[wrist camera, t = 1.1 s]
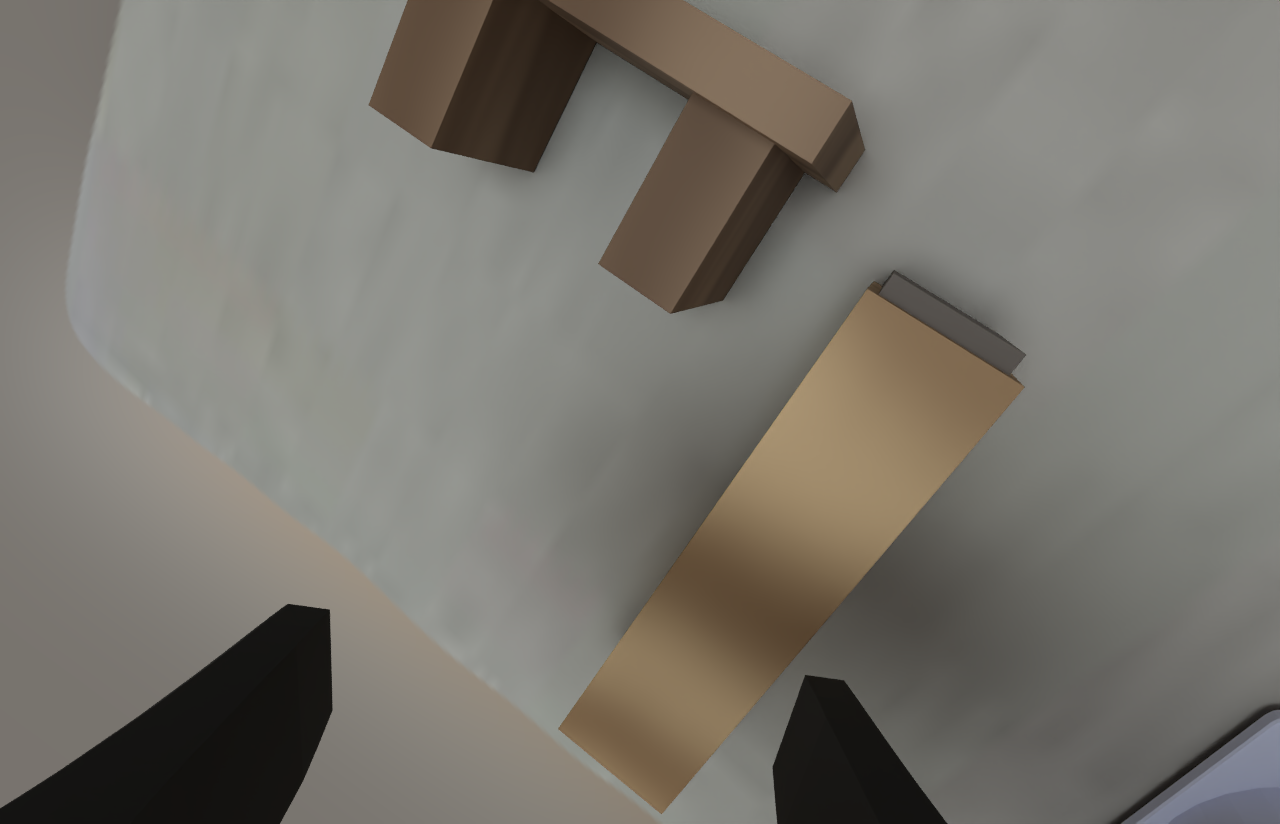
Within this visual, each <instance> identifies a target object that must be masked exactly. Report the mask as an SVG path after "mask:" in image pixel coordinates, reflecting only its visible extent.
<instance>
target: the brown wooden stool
mask: <svg viewBox="0 0 1280 824" xmlns="http://www.w3.org/2000/svg"><path fill="white" fill-rule="evenodd" d="M596 42H597V43H598V44H600V45H602V46H603V47H605V48H606V49H608V50H610V51H611V52H613V53H614V54H616V55H618V56H619V57H621V58H622V59H624V60H626V61H627V62H629V63H630V64H632V65H634V66H635V67H637V68H638V69H640V70H642V71H643V72H645V73H646V74H648V75H650V76H651V77H653V78H654V79H656V80H658V81H659V82H661V83H662V84H664V85H666V86H667V87H669V88H670V89H672V90H674V91H675V92H677V93H678V94H680V95H682V96H683V97H685V98H686V99H688V102H687V104H686V105H685V107H684V109H683V111H682V113H681V114H680V116H679V118H678V120H677V122H676V124H675V125H674V127H673V129H672V131H671V133H670V134H669V136H668V138H667V140H666V142H665V144H664V145H663V147H662V149H661V151H660V153H659V154H658V156H657V158H656V160H655V162H654V164H653V165H652V167H651V169H650V171H649V173H648V174H647V176H646V178H645V180H644V182H643V184H642V185H641V187H640V189H639V191H638V193H637V194H636V196H635V198H634V200H633V202H632V204H631V205H630V207H629V209H628V211H627V213H626V214H625V216H624V218H623V220H622V222H621V223H620V225H619V227H618V229H617V231H616V233H615V234H614V236H613V238H612V240H611V242H610V243H609V245H608V247H607V249H606V251H605V253H604V254H603V256H602V258H601V260H600V262H599V263H598V264H599V265H601V266H602V267H603V268H605V269H606V270H608V271H609V272H611V273H612V274H614V275H615V276H616V277H618V278H619V279H621V280H622V281H624V282H625V283H627V284H628V285H629V286H631V287H632V288H634V289H635V290H637V291H638V292H640V293H641V294H642V295H644V296H645V297H647V298H648V299H650V300H651V301H653V302H654V303H655V304H657V305H658V306H660V307H661V308H663V309H664V310H666V311H667V312H668V313H670V314H671V313H675V312H679V311H683V310H687V309H691V308H695V307H699V306H703V305H707V304H711V303H715V302H719V301H723V299H724V298H725V296H726V295H727V293H728V292H729V290H730V288H731V287H732V285H733V284H734V282H735V281H736V279H737V277H738V276H739V274H740V273H741V271H742V270H743V268H744V267H745V265H746V263H747V262H748V260H749V259H750V257H751V256H752V254H753V252H754V251H755V249H756V248H757V246H758V245H759V243H760V242H761V240H762V238H763V237H764V235H765V234H766V232H767V231H768V229H769V227H770V226H771V224H772V223H773V221H774V220H775V218H776V217H777V215H778V213H779V212H780V210H781V209H782V207H783V206H784V204H785V203H786V201H787V199H788V198H789V196H790V195H791V193H792V192H793V190H794V188H795V187H796V185H797V184H798V182H799V181H800V179H801V178H802V176H803V174H804V173H807V174H808V175H810V176H811V177H813V178H815V179H816V180H818V181H819V182H821V183H823V184H824V185H826V186H827V187H829V188H831V189H832V190H834V191H835V192H837V191H838V190H839V188H840V187H841V185H842V184H843V182H844V181H845V179H846V178H847V176H848V175H849V173H850V172H851V170H852V169H853V167H854V166H855V164H856V163H857V161H858V160H859V158H860V157H861V155H862V154H863V152H864V151H865V148H864V144H863V141H862V137H861V133H860V129H859V126H858V122H857V118H856V115H855V111H854V107H853V103H852V101H851V100H850V99H848V98H846V97H844V96H843V95H841V94H839V93H838V92H836V91H834V90H833V89H831V88H829V87H828V86H826V85H824V84H823V83H821V82H819V81H818V80H816V79H814V78H813V77H811V76H809V75H808V74H806V73H804V72H803V71H801V70H799V69H798V68H796V67H794V66H793V65H791V64H789V63H787V62H786V61H784V60H782V59H781V58H779V57H777V56H776V55H774V54H772V53H771V52H769V51H767V50H766V49H764V48H762V47H761V46H759V45H757V44H756V43H754V42H752V41H751V40H749V39H747V38H746V37H744V36H742V35H741V34H739V33H737V32H735V31H734V30H732V29H730V28H729V27H727V26H725V25H724V24H722V23H720V22H719V21H717V20H715V19H714V18H712V17H710V16H709V15H707V14H705V13H704V12H702V11H700V10H699V9H697V8H695V7H694V6H692V5H690V4H689V3H687V2H685V1H683V0H408V1H407V4H406V6H405V9H404V12H403V15H402V17H401V20H400V23H399V25H398V28H397V31H396V33H395V36H394V39H393V41H392V44H391V47H390V49H389V52H388V55H387V57H386V60H385V63H384V65H383V68H382V71H381V73H380V76H379V79H378V81H377V84H376V87H375V89H374V92H373V95H372V97H371V100H370V103H369V106H371V107H372V108H374V109H375V110H376V111H378V112H379V113H381V114H382V115H384V116H385V117H387V118H388V119H389V120H391V121H392V122H394V123H395V124H397V125H398V126H400V127H401V128H403V129H404V130H405V131H407V132H408V133H410V134H411V135H413V136H414V137H416V138H417V139H418V140H420V141H421V142H423V143H424V144H426V145H427V146H429V147H430V148H432V149H437V150H441V151H445V152H449V153H454V154H458V155H462V156H466V157H471V158H475V159H479V160H483V161H488V162H492V163H496V164H500V165H505V166H509V167H513V168H517V169H522V170H526V171H530V172H534V170H535V168H536V166H537V164H538V162H539V160H540V158H541V156H542V153H543V151H544V149H545V147H546V145H547V143H548V141H549V139H550V137H551V135H552V133H553V131H554V129H555V127H556V125H557V122H558V120H559V118H560V116H561V114H562V112H563V110H564V108H565V106H566V104H567V102H568V100H569V98H570V96H571V94H572V91H573V89H574V87H575V85H576V83H577V81H578V79H579V77H580V75H581V73H582V71H583V69H584V67H585V65H586V62H587V60H588V58H589V56H590V54H591V52H592V50H593V48H594V46H595V44H596Z"/></svg>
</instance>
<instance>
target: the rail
mask: <svg viewBox="0 0 1280 824" xmlns="http://www.w3.org/2000/svg"><path fill="white" fill-rule="evenodd" d="M1025 356H1026V354H1024V353H1023V352H1022V351H1020V350H1019V349H1018V348H1016V347H1015V346H1014V345H1012V344H1011V343H1010V342H1008V341H1007V340H1006V339H1004V338H1003V337H1002V336H1000V335H999V334H997V333H996V332H994V331H993V330H991V329H989V328H988V327H986V326H984V325H983V324H981V323H980V322H978V321H976V320H975V319H973V318H971V317H970V316H968V315H967V314H965V313H963V312H962V311H960V310H958V309H957V308H955V307H953V306H952V305H950V304H949V303H947V302H945V301H944V300H942V299H940V298H939V297H937V296H936V295H934V294H932V293H931V292H929V291H927V290H926V289H924V288H923V287H921V286H919V285H918V284H916V283H914V282H913V281H911V280H909V279H908V278H906V277H905V276H903V275H901V274H900V273H898V272H896V271H895V270H894V271H893V272H892V273H891V275H890V276H889V278H888V279H887V280H886V282H885V283H884V285H883V286H881V285H879V284H878V283H876V282H875V281H874V282H873V283H872V284H871V285H870V286H869V287H868V289H867V290H866V291H865V293H864V294H863V296H862V297H861V299H860V300H859V301H858V303H857V304H856V306H855V307H854V309H853V310H852V311H851V313H850V314H849V316H848V317H847V318H846V320H845V321H844V323H843V324H842V326H841V327H840V328H839V330H838V331H837V333H836V334H835V336H834V337H833V338H832V340H831V341H830V343H829V344H828V345H827V347H826V348H825V350H824V351H823V353H822V354H821V355H820V357H819V358H818V360H817V361H816V363H815V364H814V365H813V367H812V368H811V370H810V371H809V373H808V374H807V375H806V377H805V378H804V380H803V381H802V382H801V384H800V385H799V387H798V388H797V390H796V391H795V392H794V394H793V395H792V397H791V398H790V400H789V401H788V402H787V404H786V405H785V407H784V408H783V410H782V411H781V412H780V414H779V415H778V417H777V418H776V419H775V421H774V422H773V424H772V425H771V427H770V428H769V429H768V431H767V432H766V434H765V435H764V437H763V438H762V439H761V441H760V442H759V444H758V445H757V447H756V448H755V449H754V451H753V452H752V454H751V455H750V456H749V458H748V459H747V461H746V462H745V464H744V465H743V466H742V468H741V469H740V471H739V472H738V474H737V475H736V476H735V478H734V479H733V481H732V482H731V483H730V485H729V486H728V488H727V489H726V491H725V492H724V493H723V495H722V496H721V498H720V499H719V501H718V502H717V503H716V505H715V506H714V508H713V509H712V511H711V512H710V513H709V515H708V516H707V518H706V519H705V520H704V522H703V523H702V525H701V526H700V528H699V529H698V530H697V532H696V533H695V535H694V536H693V538H692V539H691V540H690V542H689V543H688V545H687V546H686V548H685V549H684V550H683V552H682V553H681V555H680V556H679V557H678V559H677V560H676V562H675V563H674V565H673V566H672V567H671V569H670V570H669V572H668V573H667V575H666V576H665V577H664V579H663V580H662V582H661V583H660V584H659V586H658V587H657V589H656V590H655V592H654V593H653V594H652V596H651V597H650V599H649V600H648V602H647V603H646V604H645V606H644V607H643V609H642V610H641V612H640V613H639V614H638V616H637V617H636V619H635V620H634V621H633V623H632V624H631V626H630V627H629V629H628V630H627V631H626V633H625V634H624V636H623V637H622V639H621V640H620V641H619V643H618V644H617V646H616V647H615V649H614V650H613V651H612V653H611V654H610V656H609V657H608V658H607V660H606V661H605V663H604V664H603V666H602V667H601V668H600V670H599V671H598V673H597V674H596V676H595V677H594V678H593V680H592V681H591V683H590V684H589V686H588V687H587V688H586V690H585V691H584V693H583V694H582V695H581V697H580V698H579V700H578V701H577V703H576V704H575V705H574V707H573V708H572V710H571V711H570V713H569V714H568V715H567V717H566V718H565V720H564V721H563V722H562V724H561V725H560V727H559V728H558V729H559V730H560V731H561V732H562V733H564V734H565V735H566V736H567V737H568V738H570V739H571V740H572V741H573V742H575V743H576V744H577V745H578V746H579V747H581V748H582V749H583V750H584V751H585V752H587V753H588V754H589V755H590V756H591V757H593V758H594V759H595V760H596V761H598V762H599V763H600V764H601V765H602V766H604V767H605V768H606V769H607V770H608V771H610V772H611V773H612V774H613V775H615V776H616V777H617V778H618V779H619V780H621V781H622V782H623V783H624V784H625V785H627V786H628V787H629V788H630V789H631V790H633V791H634V792H635V793H636V794H638V795H639V796H640V797H641V798H642V799H644V800H645V801H646V802H647V803H648V804H650V805H651V806H652V807H653V808H655V809H656V810H657V811H658V812H659V813H661V814H662V813H663V812H664V811H665V810H666V808H667V807H668V806H669V805H670V804H671V803H672V801H673V800H674V799H675V798H676V797H677V795H678V794H679V793H680V792H681V791H682V790H683V788H684V787H685V786H686V785H687V784H688V783H689V781H690V780H691V779H692V778H693V777H694V775H695V774H696V773H697V772H698V771H699V770H700V768H701V767H702V766H703V765H704V764H705V763H706V761H707V760H708V759H709V758H710V757H711V755H712V754H713V753H714V752H715V751H716V750H717V748H718V747H719V746H720V745H721V744H722V743H723V741H724V740H725V739H726V738H727V737H728V735H729V734H730V733H731V732H732V731H733V730H734V728H735V727H736V726H737V725H738V724H739V723H740V721H741V720H742V719H743V718H744V717H745V715H746V714H747V713H748V712H749V711H750V710H751V708H752V707H753V706H754V705H755V704H756V703H757V701H758V700H759V699H760V698H761V697H762V695H763V694H764V693H765V692H766V691H767V690H768V688H769V687H770V686H771V685H772V684H773V683H774V681H775V680H776V679H777V678H778V677H779V675H780V674H781V673H782V672H783V671H784V670H785V668H786V667H787V666H788V665H789V664H790V663H791V661H792V660H793V659H794V658H795V657H796V655H797V654H798V653H799V652H800V651H801V650H802V648H803V647H804V646H805V645H806V644H807V643H808V641H809V640H810V639H811V638H812V637H813V635H814V634H815V633H816V632H817V631H818V630H819V628H820V627H821V626H822V625H823V624H824V623H825V621H826V620H827V619H828V618H829V617H830V615H831V614H832V613H833V612H834V611H835V610H836V608H837V607H838V606H839V605H840V604H841V603H842V601H843V600H844V599H845V598H846V597H847V595H848V594H849V593H850V592H851V591H852V590H853V588H854V587H855V586H856V585H857V584H858V583H859V581H860V580H861V579H862V578H863V577H864V576H865V574H866V573H867V572H868V571H869V570H870V568H871V567H872V566H873V565H874V564H875V563H876V561H877V560H878V559H879V558H880V557H881V556H882V554H883V553H884V552H885V551H886V550H887V548H888V547H889V546H890V545H891V544H892V543H893V541H894V540H895V539H896V538H897V537H898V536H899V534H900V533H901V532H902V531H903V530H904V528H905V527H906V526H907V525H908V524H909V523H910V521H911V520H912V519H913V518H914V517H915V516H916V514H917V513H918V512H919V511H920V510H921V508H922V507H923V506H924V505H925V504H926V503H927V501H928V500H929V499H930V498H931V497H932V496H933V494H934V493H935V492H936V491H937V490H938V488H939V487H940V486H941V485H942V484H943V483H944V481H945V480H946V479H947V478H948V477H949V476H950V474H951V473H952V472H953V471H954V470H955V468H956V467H957V466H958V465H959V464H960V463H961V461H962V460H963V459H964V458H965V457H966V456H967V454H968V453H969V452H970V451H971V450H972V448H973V447H974V446H975V445H976V444H977V443H978V441H979V440H980V439H981V438H982V437H983V436H984V434H985V433H986V432H987V431H988V430H989V428H990V427H991V426H992V425H993V424H994V423H995V421H996V420H997V419H998V418H999V417H1000V416H1001V414H1002V413H1003V412H1004V411H1005V410H1006V408H1007V407H1008V406H1009V405H1010V404H1011V403H1012V401H1013V400H1014V399H1015V398H1016V397H1017V396H1018V394H1019V393H1020V392H1021V391H1022V390H1023V388H1024V386H1023V385H1022V384H1021V383H1020V382H1019V381H1018V380H1017V379H1016V378H1015V377H1014V376H1013V375H1012V374H1011V373H1012V371H1013V370H1014V369H1015V368H1016V367H1017V365H1018V364H1019V363H1020V362H1021V361H1022V359H1023V358H1024V357H1025Z"/></svg>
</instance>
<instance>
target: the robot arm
mask: <svg viewBox="0 0 1280 824" xmlns="http://www.w3.org/2000/svg"><path fill="white" fill-rule="evenodd" d="M331 713H332V674H331V638H330V610H328V609H321V608H313V607H307V606H299V605H292V604H287V605H286V606H284V607H283V608H281V609H280V610H279V611H277V612H276V613H275V614H273V615H272V616H271V617H269V618H268V619H267V620H266V621H264V622H263V623H262V624H260V625H259V626H258V627H256V628H255V629H254V630H253V631H251V632H250V633H249V634H247V635H246V636H245V637H244V638H242V639H241V640H240V641H238V642H237V643H236V644H235V645H233V646H232V647H231V648H229V649H228V650H227V651H225V652H224V653H223V654H222V655H220V656H219V657H218V658H216V659H215V660H214V661H212V662H211V663H210V664H209V665H207V666H206V667H205V668H203V669H202V670H201V671H199V672H198V673H197V674H195V675H194V676H193V677H192V678H190V679H189V680H187V681H186V682H185V683H183V684H182V685H180V686H179V687H178V688H176V689H175V690H174V691H172V692H171V693H170V694H168V695H167V696H166V697H164V698H163V699H162V700H160V701H159V702H157V703H156V704H155V705H153V706H152V707H151V708H149V709H148V710H147V711H145V712H144V713H142V714H141V715H140V716H138V717H137V718H136V719H134V720H133V721H131V722H130V723H128V724H127V725H126V726H124V727H123V728H121V729H120V730H118V731H117V732H115V733H114V734H112V735H111V736H109V737H108V738H106V739H105V740H104V741H102V742H101V743H99V744H98V745H96V746H95V747H93V748H92V749H90V750H89V751H88V752H86V753H85V754H83V755H82V756H80V757H79V758H77V759H76V760H75V761H73V762H71V763H70V764H69V765H67V766H66V767H64V768H63V769H61V770H60V771H58V772H57V773H55V774H54V775H52V776H50V777H49V778H47V779H46V780H44V781H43V782H41V783H40V784H38V785H36V786H35V787H33V788H32V789H30V790H29V791H27V792H26V793H24V794H22V795H21V796H19V797H18V798H16V799H14V800H13V801H11V802H10V803H8V804H7V805H5V806H3V807H2V808H0V824H280V822H281V821H282V819H283V817H284V815H285V813H286V812H287V810H288V808H289V806H290V804H291V802H292V801H293V799H294V797H295V795H296V793H297V791H298V789H299V787H300V786H301V784H302V782H303V780H304V777H305V775H306V773H307V771H308V768H309V766H310V763H311V761H312V759H313V757H314V754H315V752H316V750H317V747H318V745H319V742H320V740H321V737H322V735H323V732H324V730H325V727H326V725H327V722H328V720H329V718H330V715H331ZM773 778H774V791H775V803H776V814H777V824H947V823H946V821H945V820H944V819H943V817H942V816H941V815H940V813H939V812H938V811H937V809H936V808H935V807H934V805H933V804H932V803H931V801H930V800H929V799H928V797H927V796H926V795H925V793H924V792H923V791H922V789H921V788H920V787H919V785H918V784H917V783H916V781H915V780H914V778H913V777H912V776H911V774H910V773H909V772H908V770H907V769H906V767H905V766H904V765H903V763H902V762H901V760H900V759H899V758H898V756H897V755H896V753H895V752H894V751H893V749H892V748H891V746H890V745H889V744H888V742H887V741H886V739H885V738H884V736H883V735H882V734H881V732H880V731H879V729H878V728H877V726H876V725H875V724H874V722H873V721H872V719H871V718H870V717H869V715H868V714H867V712H866V711H865V709H864V708H863V707H862V705H861V704H860V702H859V701H858V699H857V698H856V697H855V695H854V694H853V692H852V691H851V690H850V688H849V687H848V685H847V684H846V683H845V681H844V680H837V679H829V678H822V677H815V676H808V675H805V677H804V680H803V683H802V686H801V689H800V692H799V694H798V697H797V700H796V703H795V706H794V708H793V711H792V714H791V717H790V720H789V723H788V725H787V728H786V731H785V734H784V737H783V739H782V742H781V745H780V748H779V751H778V753H777V756H776V759H775V762H774V765H773ZM1121 824H1280V710H1273V711H1271V712H1269V713H1267V714H1265V715H1264V716H1262V717H1261V718H1260V719H1258V720H1257V721H1256V722H1254V723H1253V724H1252V725H1251V726H1249V727H1248V728H1247V729H1245V730H1244V731H1243V732H1241V733H1240V734H1239V735H1237V736H1236V737H1235V738H1233V739H1232V740H1231V741H1229V742H1228V743H1227V744H1225V745H1224V746H1223V747H1221V748H1220V749H1219V750H1217V751H1216V752H1215V753H1214V754H1212V755H1211V756H1210V757H1208V758H1207V759H1206V760H1204V761H1203V762H1202V763H1200V764H1199V765H1198V766H1196V767H1195V768H1194V769H1192V770H1191V771H1190V772H1188V773H1187V774H1186V775H1184V776H1183V777H1182V778H1181V779H1179V780H1178V781H1177V782H1175V783H1174V784H1173V785H1171V786H1170V787H1169V788H1167V789H1166V790H1165V791H1163V792H1162V793H1161V794H1159V795H1158V796H1157V797H1155V798H1154V799H1153V800H1151V801H1150V802H1149V803H1147V804H1146V805H1145V806H1144V807H1142V808H1141V809H1140V810H1138V811H1137V812H1136V813H1134V814H1133V815H1132V816H1130V817H1129V818H1128V819H1126V820H1125V821H1124V822H1122V823H1121Z"/></svg>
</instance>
